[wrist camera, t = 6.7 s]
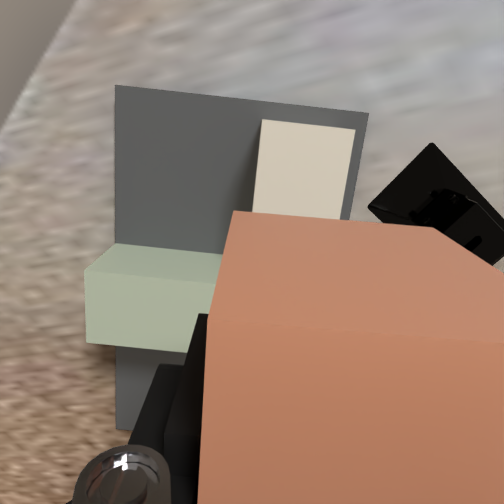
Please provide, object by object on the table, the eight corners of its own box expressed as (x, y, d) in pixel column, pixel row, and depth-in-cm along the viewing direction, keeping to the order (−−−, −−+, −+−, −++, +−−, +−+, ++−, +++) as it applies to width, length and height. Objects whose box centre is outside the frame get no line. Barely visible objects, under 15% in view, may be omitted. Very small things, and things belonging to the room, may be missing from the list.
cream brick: (316, 253, 27) (328, 282, 22) (248, 246, 27) (245, 274, 22) (336, 127, 24) (355, 129, 19) (261, 119, 24) (262, 119, 19)
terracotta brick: (369, 493, 12) (446, 752, 7) (214, 482, 12) (184, 736, 7) (433, 227, 9) (625, 353, 4) (233, 210, 9) (207, 319, 4)
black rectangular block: (341, 198, 27) (357, 214, 23) (425, 113, 25) (460, 112, 21) (459, 312, 30) (494, 345, 25) (544, 241, 28) (596, 264, 23)
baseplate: (305, 438, 33) (306, 447, 32) (120, 419, 32) (115, 428, 32) (364, 113, 25) (369, 113, 24) (120, 86, 25) (114, 84, 24)
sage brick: (235, 255, 27) (230, 285, 22) (229, 316, 28) (223, 356, 23) (115, 243, 27) (84, 270, 22) (115, 304, 28) (86, 342, 23)
